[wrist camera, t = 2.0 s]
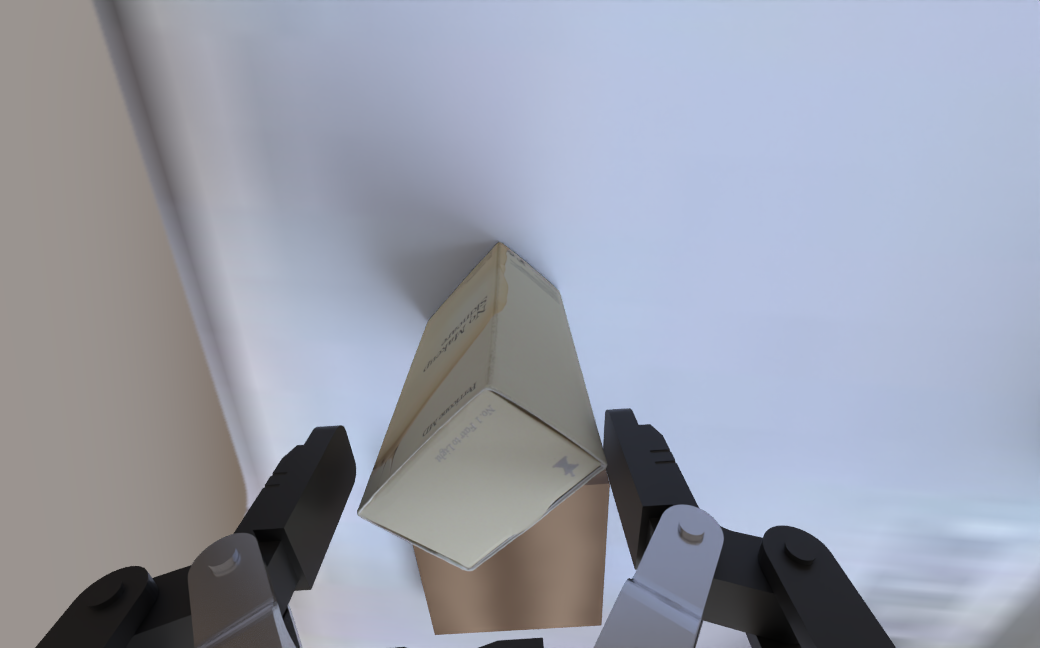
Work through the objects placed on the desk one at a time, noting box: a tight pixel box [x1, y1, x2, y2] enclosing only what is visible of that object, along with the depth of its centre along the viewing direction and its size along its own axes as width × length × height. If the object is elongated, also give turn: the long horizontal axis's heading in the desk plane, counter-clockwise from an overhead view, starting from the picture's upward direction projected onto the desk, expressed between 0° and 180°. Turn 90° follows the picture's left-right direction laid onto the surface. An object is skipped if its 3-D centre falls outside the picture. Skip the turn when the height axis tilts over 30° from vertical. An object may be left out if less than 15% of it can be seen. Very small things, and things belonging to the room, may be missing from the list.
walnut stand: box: [413, 469, 610, 635], centre depth 28 cm, size 12×14×3 cm
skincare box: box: [357, 242, 607, 571], centre depth 17 cm, size 6×4×12 cm
